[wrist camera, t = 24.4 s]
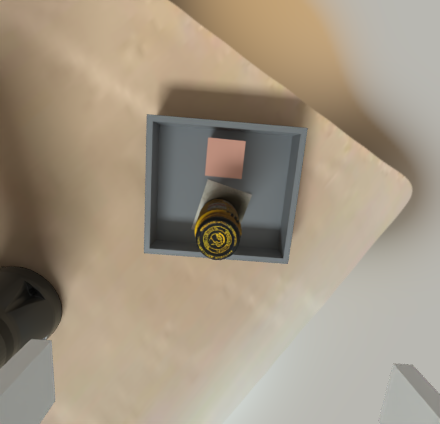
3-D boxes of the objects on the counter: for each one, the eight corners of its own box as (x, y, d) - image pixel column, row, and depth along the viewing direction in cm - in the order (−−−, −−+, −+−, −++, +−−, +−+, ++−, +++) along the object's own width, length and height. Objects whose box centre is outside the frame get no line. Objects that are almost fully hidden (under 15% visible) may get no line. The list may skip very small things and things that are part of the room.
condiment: (191, 228, 42) (180, 256, 30) (207, 179, 40) (203, 188, 28) (233, 242, 42) (239, 275, 30) (251, 194, 40) (265, 209, 29)
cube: (238, 176, 40) (241, 179, 35) (206, 173, 40) (204, 175, 35) (242, 143, 39) (245, 141, 34) (209, 140, 39) (208, 137, 34)
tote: (280, 251, 43) (287, 263, 39) (152, 242, 43) (144, 253, 38) (296, 131, 39) (307, 128, 35) (155, 119, 39) (146, 114, 34)
